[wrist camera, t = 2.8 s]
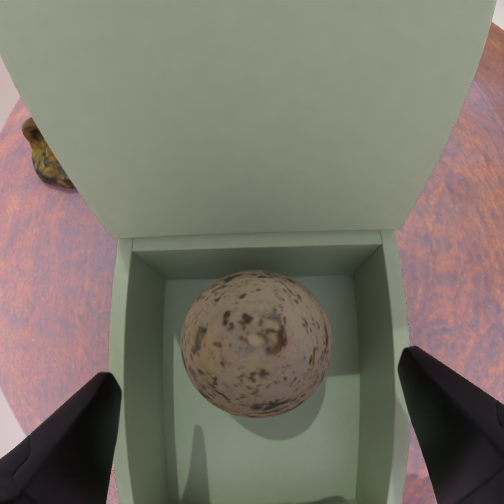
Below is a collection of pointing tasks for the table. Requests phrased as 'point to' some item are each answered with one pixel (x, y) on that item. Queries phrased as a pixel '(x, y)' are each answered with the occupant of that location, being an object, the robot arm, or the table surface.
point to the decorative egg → (256, 344)
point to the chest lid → (245, 106)
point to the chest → (272, 428)
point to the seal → (44, 157)
